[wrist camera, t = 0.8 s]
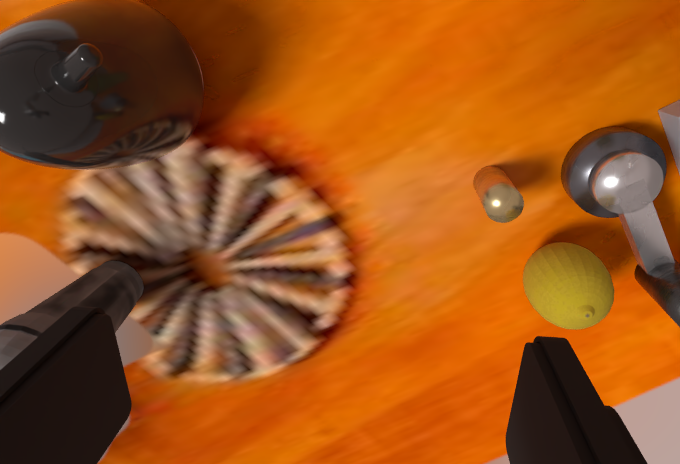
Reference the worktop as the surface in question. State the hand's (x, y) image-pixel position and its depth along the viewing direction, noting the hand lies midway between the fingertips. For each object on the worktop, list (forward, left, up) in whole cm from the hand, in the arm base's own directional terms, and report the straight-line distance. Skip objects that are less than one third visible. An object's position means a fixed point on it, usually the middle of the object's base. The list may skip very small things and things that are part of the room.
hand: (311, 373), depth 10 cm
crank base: (-11, +10, -26) cm, 30 cm away
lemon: (-7, +16, -26) cm, 31 cm away
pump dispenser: (+12, -11, -26) cm, 31 cm away
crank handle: (-13, +15, -23) cm, 31 cm away
